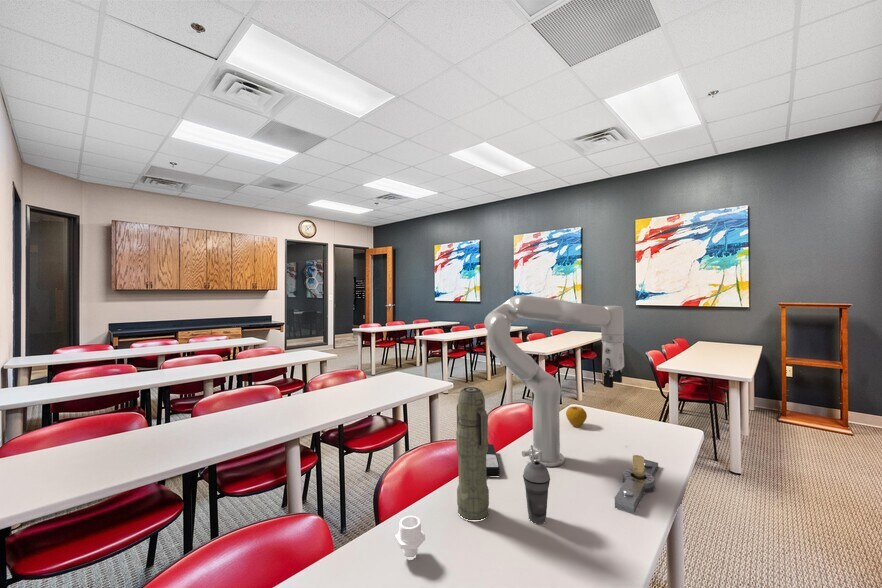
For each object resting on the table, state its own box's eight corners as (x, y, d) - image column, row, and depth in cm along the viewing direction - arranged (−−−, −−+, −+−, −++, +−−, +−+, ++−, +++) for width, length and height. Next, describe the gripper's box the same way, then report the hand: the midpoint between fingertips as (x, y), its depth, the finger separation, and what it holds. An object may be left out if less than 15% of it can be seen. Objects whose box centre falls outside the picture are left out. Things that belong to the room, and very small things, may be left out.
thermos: (478, 529, 96) (476, 396, 96) (447, 509, 105) (445, 388, 104) (499, 515, 102) (497, 390, 101) (469, 497, 110) (467, 382, 110)
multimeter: (493, 453, 142) (493, 440, 142) (500, 478, 123) (499, 463, 123) (460, 453, 142) (459, 440, 142) (461, 478, 123) (460, 463, 123)
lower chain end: (651, 496, 110) (651, 488, 110) (620, 486, 115) (620, 479, 115) (664, 468, 126) (664, 462, 126) (636, 461, 132) (636, 455, 132)
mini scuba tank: (546, 531, 95) (545, 454, 95) (519, 522, 99) (518, 448, 98) (554, 516, 101) (553, 444, 101) (528, 508, 105) (527, 439, 105)
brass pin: (639, 489, 114) (638, 460, 114) (630, 483, 117) (630, 456, 117) (646, 487, 115) (646, 458, 115) (638, 482, 118) (638, 454, 118)
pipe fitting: (390, 560, 85) (389, 526, 85) (408, 542, 91) (408, 510, 91) (412, 570, 82) (411, 535, 82) (430, 551, 88) (429, 518, 88)
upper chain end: (641, 517, 100) (641, 503, 100) (607, 505, 105) (607, 492, 105) (656, 484, 116) (656, 472, 116) (627, 475, 122) (627, 464, 122)
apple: (585, 423, 171) (585, 404, 171) (588, 430, 162) (588, 410, 162) (565, 421, 173) (565, 402, 173) (567, 428, 164) (567, 408, 164)
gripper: (615, 342, 127) (615, 391, 127) (630, 337, 139) (630, 381, 140) (593, 340, 132) (593, 387, 132) (610, 335, 145) (610, 378, 145)
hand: (612, 384), depth 136 cm, fingers open, 9 cm apart
